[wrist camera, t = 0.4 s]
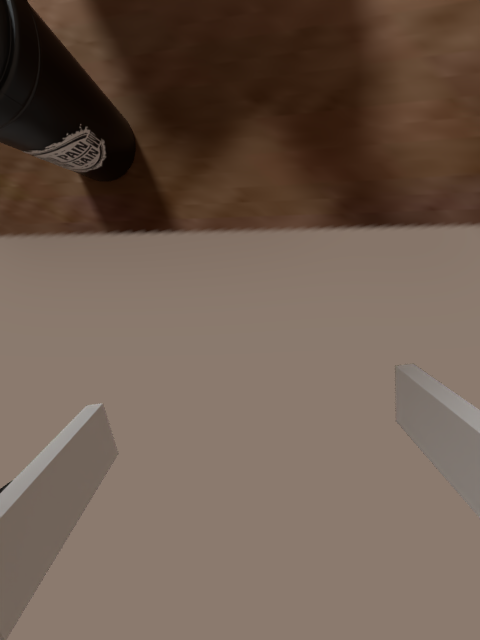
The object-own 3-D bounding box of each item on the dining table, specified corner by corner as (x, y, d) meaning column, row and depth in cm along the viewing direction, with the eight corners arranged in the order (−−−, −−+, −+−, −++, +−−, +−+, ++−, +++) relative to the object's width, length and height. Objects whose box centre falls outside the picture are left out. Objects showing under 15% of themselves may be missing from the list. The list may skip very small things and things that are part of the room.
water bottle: (79, 198, 36) (-181, 120, 14) (46, 110, 34) (-333, -152, 12) (153, 175, 36) (1, 53, 13) (124, 83, 33) (-122, -254, 11)
